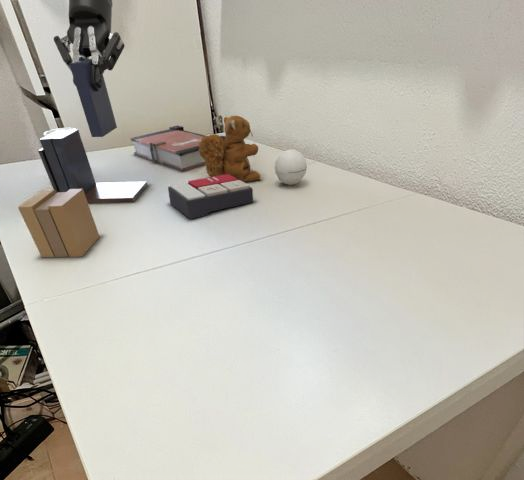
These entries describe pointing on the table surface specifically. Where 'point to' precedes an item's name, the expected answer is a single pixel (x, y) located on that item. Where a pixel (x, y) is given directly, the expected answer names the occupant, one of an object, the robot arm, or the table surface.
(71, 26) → the robot arm
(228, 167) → the stuffed squirrel
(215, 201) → the grey and red device
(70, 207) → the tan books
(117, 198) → the book stand
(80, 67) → the navy book
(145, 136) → the book
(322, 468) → the table surface
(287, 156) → the seamed sphere
